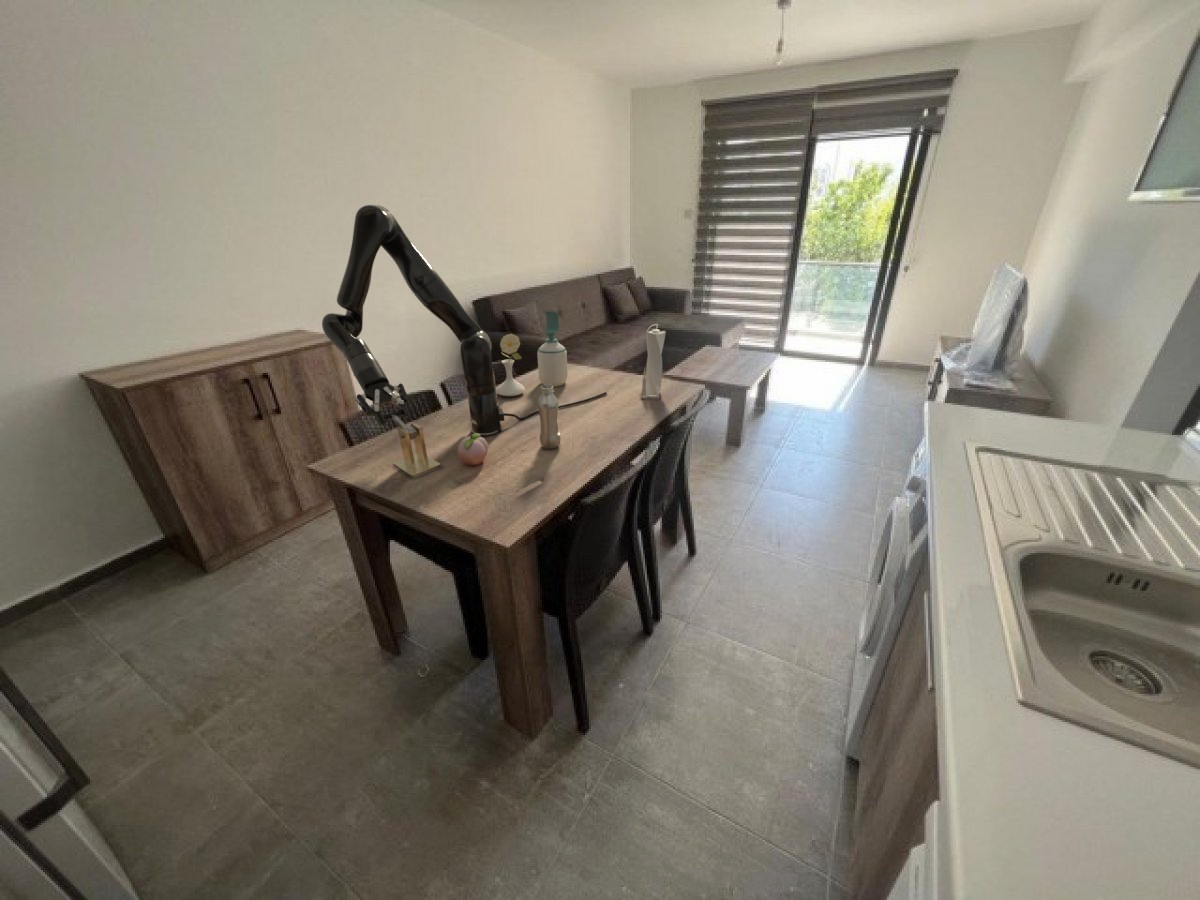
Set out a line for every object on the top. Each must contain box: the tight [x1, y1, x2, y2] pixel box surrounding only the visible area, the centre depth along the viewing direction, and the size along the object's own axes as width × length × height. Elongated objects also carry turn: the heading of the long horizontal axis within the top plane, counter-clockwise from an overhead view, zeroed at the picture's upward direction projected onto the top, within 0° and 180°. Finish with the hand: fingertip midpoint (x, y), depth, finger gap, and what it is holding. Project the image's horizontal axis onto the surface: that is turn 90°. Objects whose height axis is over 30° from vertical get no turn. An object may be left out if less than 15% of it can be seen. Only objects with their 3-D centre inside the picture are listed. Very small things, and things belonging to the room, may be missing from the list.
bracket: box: [392, 422, 442, 477], centre depth 137 cm, size 11×9×13 cm
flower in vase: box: [496, 333, 526, 397], centre depth 189 cm, size 13×11×25 cm
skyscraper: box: [640, 323, 667, 401], centre depth 186 cm, size 8×8×28 cm
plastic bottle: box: [536, 384, 561, 450], centre depth 147 cm, size 6×7×20 cm
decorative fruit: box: [457, 433, 489, 466], centre depth 138 cm, size 9×8×10 cm
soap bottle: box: [536, 310, 568, 388], centre depth 200 cm, size 12×12×31 cm
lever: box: [382, 409, 417, 441], centre depth 137 cm, size 12×6×2 cm, turn 48°
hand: (395, 420), depth 139 cm, fingers closed on lever, 6 cm apart
